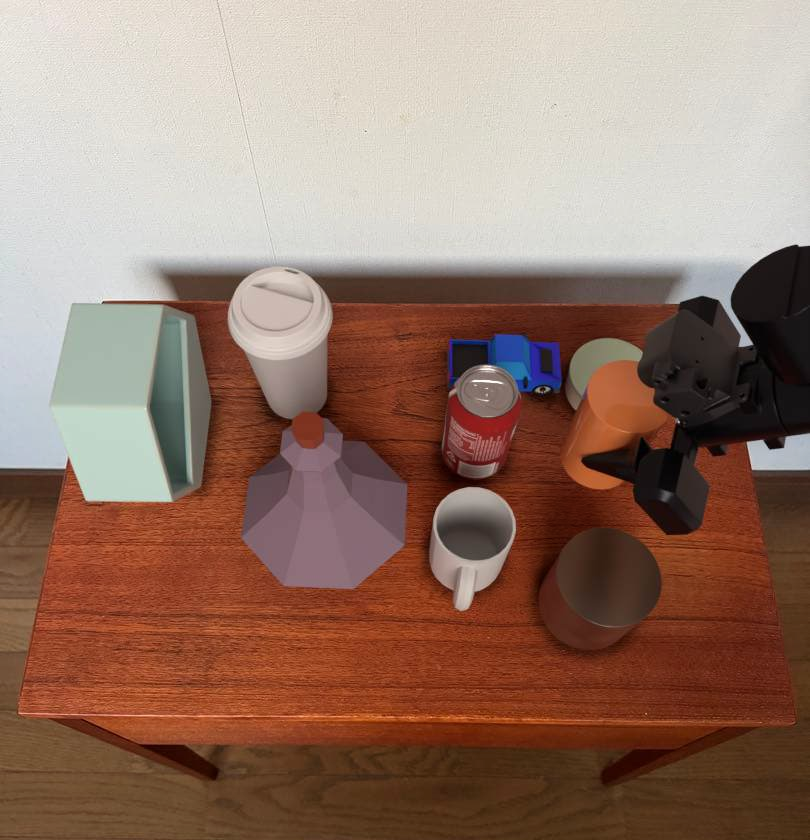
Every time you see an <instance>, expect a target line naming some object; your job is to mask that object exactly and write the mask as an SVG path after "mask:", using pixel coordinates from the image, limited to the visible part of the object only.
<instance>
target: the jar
mask: <svg viewBox="0 0 810 840" xmlns="http://www.w3.org/2000/svg"><path fill="white" fill-rule="evenodd" d="M642 354H643V351H642V350H641V349H640V348H638V347H637V346H636V345H634V344H632V343H630V342H628V341H626V340H623V339H619V338H612V337H604V338H602V337H601V338H596V339H593V340H591V341H588V342H586V343H584V344H582V345H581V346H580V347H579V348H578V349H577V350H575V353H574V354H573V355H572V358H571V360H570V362H569V366H568V373H567V375H566V378H565V383H564V390H565V391H564V392H565V395H566V399H567V400H568V403H569V405H570V406H571V407H572V408H573V410H575V411H576V410H577V408H578V406H579V403H580V401H581V399H582V396H583V394H584V392H585V389H586V387H587V385H588V382H589V380H590V378H591V377H592V375H593V374H594V372H595V371H596V370H598V369H599V368H600V367H601V366H603V365H605V364H607V363H610V362H613V361H618V360H632V361H637V362H639V361H640V360H641V358H642Z"/></svg>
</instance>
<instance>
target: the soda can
mask: <svg viewBox="0 0 810 840" xmlns="http://www.w3.org/2000/svg"><path fill="white" fill-rule="evenodd" d="M522 406H523V399H522V395H521V391H519V390H518V387H517V384H516V381H515V380H514V378H513V377H512V376H511V375H510V374H509V373H508V372H507V371H505V370H504V369H502V368H500V367H497V366H493V365H479V366H475V367H472V368H470V369H469V370H467V371H466V372H465V373H464V374H463V375H462V376H461V377H460V378H459V379H458V380H457V381H456V382H455V383H454V384H453V386H452V388H451V390H449V393H448V397H447V406H446V412H445V413H446V414H445V420H444V426H443V427H444V428H443V434H442V443H441V456H442V459H443V461H444V463H445V465H446V466H447V468H448V469H449V470H450V471H451V472H452V473H454V474H455V475H457V476H458V477H461V478H463V479H466V480H472V481H481V480H485V479H489V478H490V477H493V476H494V475H496V474H498V473H499V472H500V470H501V469H502V468H503V467H504V465H505V463H506V460H507V458H508V454H509V450H510V447H511V444H512V440H513V438H514V435H515V432H516V429H517V425H518V422H519V419H520V416H521V413H522Z"/></svg>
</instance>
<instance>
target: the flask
mask: <svg viewBox="0 0 810 840" xmlns="http://www.w3.org/2000/svg"><path fill="white" fill-rule="evenodd" d="M343 438H344V433H342V432H341V431H340V429H338V428H337V427H336V426H335V425H334V424H333V423H332V422H331V421H330V419H328V417H322V416H320V415H319V413H318V412H317V413H316V412H302V413H300V414H299V415H298V416H296V417H295V418H294V419H293V420H292V419H291V425H289V426H288V427H287V428H285V429H283V430H282V435H281V442H280V450H279V454H278V455H276V456H275V457H274V458H272V459H271V460H270V461H269V462H267V463H266V464H264V465H263V466H262V467H261V468H259V469H258V470H257V471H255V472H254V473H252V474H251V475H249V476H248V485H247V490H246V491H247V492H246V496H245V497H246V498H245V506H244V512H243V519H242V520H243V521H242V527H241V535H240V539H241V540H242V541H243V542H244V544H246V546H247V547H248V548H249V550H251V551H252V553H254V555H255V556H256V557H257V558H258V559H259V560H260V561H261V562H262V563H263V565H264V566H265V567H266V568H267V569H268V570H269V571H270V573H271V574H272V575H273V576H274V577H275V578H276V579H277V580H278V582H279V584H281V585H282V586H283V587H295V588H297V587H298V588H314V589H315V588H316V589H317V588H318V589H319V588H320V589H340V590H355V589H356V587H358V586H359V585H360V584H361V583H362V582H364V581H365V580H366V579H367V578H368V577H370V576H371V575H372V574H373V573H374V572H376V570H378V569H380V567H381V566H382V565H384V564H385V563H386V562H387V561H388V560H390V559H391V558H392V557H393V556H394V555H396V553H398V552H400V550H402V548H403V547H405V545H406V528H407V527H406V525H407V502H408V484H407V482H406V481H405V480H404V479H403V478H402V477H401V476H400V475H399V474H398V473H397V472H396V471H394V469H393V468H392V467H391V466H390V465H389V464H388V463H387V462H386V461H385V460H383V458H382V457H381V456H379V454H377V453H376V452H375V451H374V449H372V447H370V446H369V445H368V444H367V443H366V442H365V441H364V440H363V441H362V440H361V441H360V440H343Z"/></svg>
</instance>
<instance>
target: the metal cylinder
mask: <svg viewBox="0 0 810 840" xmlns="http://www.w3.org/2000/svg"><path fill="white" fill-rule="evenodd" d="M661 573H662V572H661V569H660V567H659V563H658V561H657V559H656V557H655V556H654V554H653V552H652V551H651V550H650V549H649V547H648V546H647V545H646V544H645V543H644V542H643V541H641V539H638V538H637V537H635V536H634V535H632V534H631V533H629V532H626V531H624V530H621V529H617V528H612V527H605V526H604V527H593V528H589V529H585V530H584V531H581V532H579V533H577V534H576V535H575V536H573V537H572V538H570V540H568V541H567V542H566V544H565V545H564V546H563V548H561V551H560V553H559V554H558V556H557V557H556V559H555V561H554V563H553V564H552V566H551V567H550V569H549V570H548V572H547V574H546V575H545V577H544V578H543V580H542V582H541V584H540V588H539V590H538V597H537V605H538V610H539V614H540V617H541V620H542V622H543V623H544V625H545V627H546V629H548V631H549V632H550V633H551V635H553V636H554V637H555V638H556V639H557V640H559V641H560V642H562V643H563V644H565V645H567V646H569V647H571V648H574V649H576V650H581V651H598V650H602V649H605V648H608V647H610V646H612V645H613V644H615V643H616V642H618V641H619V640H620V639H621V638H623V637H624V636H625V635H626V634H627V633H629V632H630V631H631V630H632V629H634V628H635V627H636V626H637V625H638V624H639V623H641V622H643V620H645V618H647V617H648V616H649V615H650V614H651V613H652V612H653V610H654V609H655V607H656V606H657V604H658V603H659V600H660V598H661V593H662V586H663V585H662V584H663V582H662V574H661Z"/></svg>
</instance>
